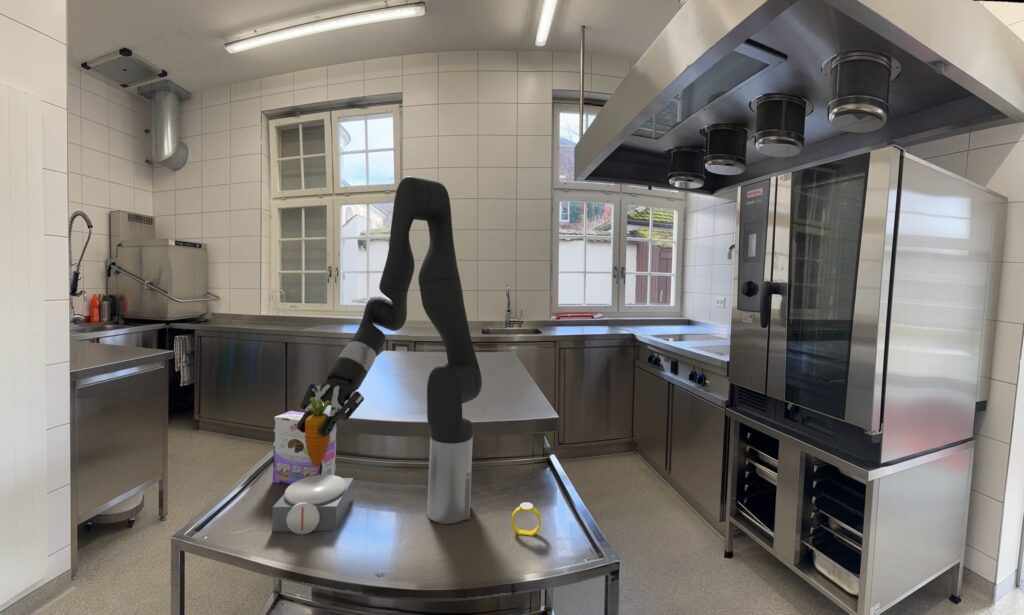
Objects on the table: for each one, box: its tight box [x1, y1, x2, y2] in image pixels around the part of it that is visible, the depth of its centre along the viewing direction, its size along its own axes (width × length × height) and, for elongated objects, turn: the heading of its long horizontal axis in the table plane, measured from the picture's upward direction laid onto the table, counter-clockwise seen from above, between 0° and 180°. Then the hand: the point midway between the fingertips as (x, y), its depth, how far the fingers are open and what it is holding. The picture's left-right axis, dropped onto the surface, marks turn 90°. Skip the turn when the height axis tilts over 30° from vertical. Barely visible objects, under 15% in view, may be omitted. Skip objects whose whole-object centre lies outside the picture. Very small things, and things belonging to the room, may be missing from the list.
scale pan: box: [284, 474, 346, 505], centre depth 86 cm, size 12×12×1 cm
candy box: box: [272, 410, 338, 486], centre depth 99 cm, size 14×6×16 cm, turn 77°
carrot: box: [305, 398, 330, 468], centre depth 85 cm, size 5×5×15 cm
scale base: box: [271, 477, 354, 535], centre depth 85 cm, size 12×13×6 cm
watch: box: [510, 502, 542, 537], centre depth 83 cm, size 6×3×6 cm, turn 84°
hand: (311, 432), depth 83 cm, fingers closed on carrot, 5 cm apart
